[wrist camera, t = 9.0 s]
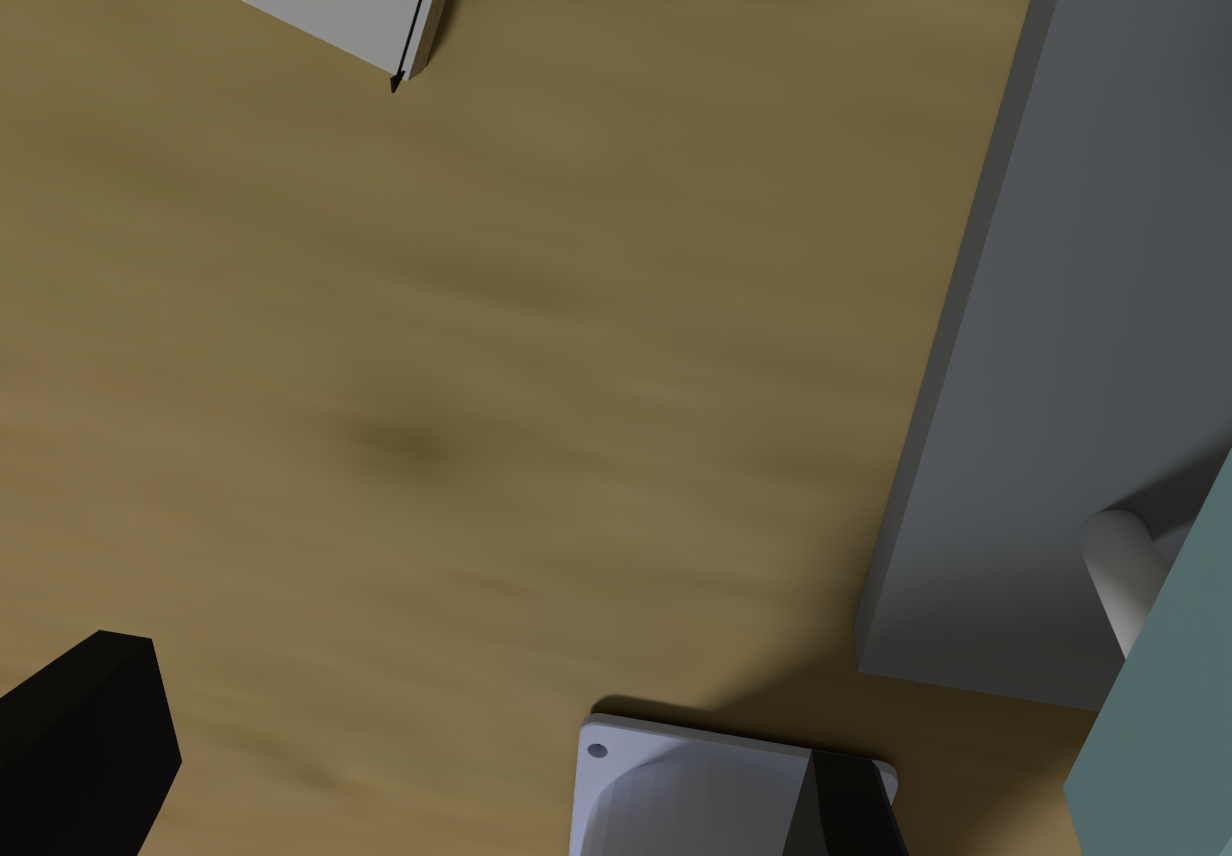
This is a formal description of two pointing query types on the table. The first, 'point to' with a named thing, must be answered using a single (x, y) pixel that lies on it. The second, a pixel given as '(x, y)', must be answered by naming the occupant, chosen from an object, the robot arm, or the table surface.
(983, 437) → the peg stand
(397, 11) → the white ridged flat slab
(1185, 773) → the teal rectangular block
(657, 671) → the table surface
